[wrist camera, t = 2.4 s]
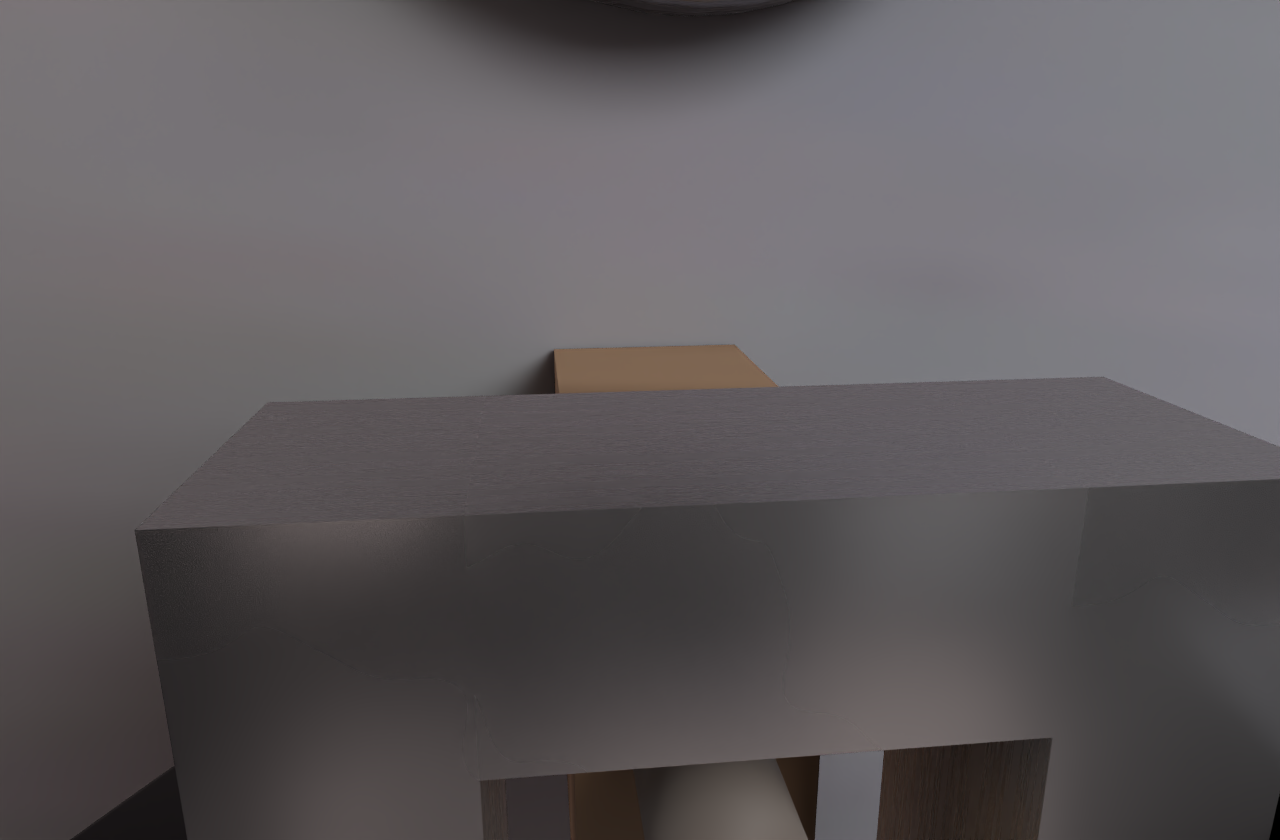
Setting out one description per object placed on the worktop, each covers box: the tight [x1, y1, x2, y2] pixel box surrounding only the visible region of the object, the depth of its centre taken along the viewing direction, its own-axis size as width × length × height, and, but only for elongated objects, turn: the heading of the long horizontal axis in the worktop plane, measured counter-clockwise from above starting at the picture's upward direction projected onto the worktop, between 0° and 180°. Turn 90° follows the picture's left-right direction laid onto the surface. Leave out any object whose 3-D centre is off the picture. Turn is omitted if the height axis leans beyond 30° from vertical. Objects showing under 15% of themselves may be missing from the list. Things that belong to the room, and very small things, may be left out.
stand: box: [554, 345, 820, 840], centre depth 9 cm, size 6×2×6 cm, turn 0°
